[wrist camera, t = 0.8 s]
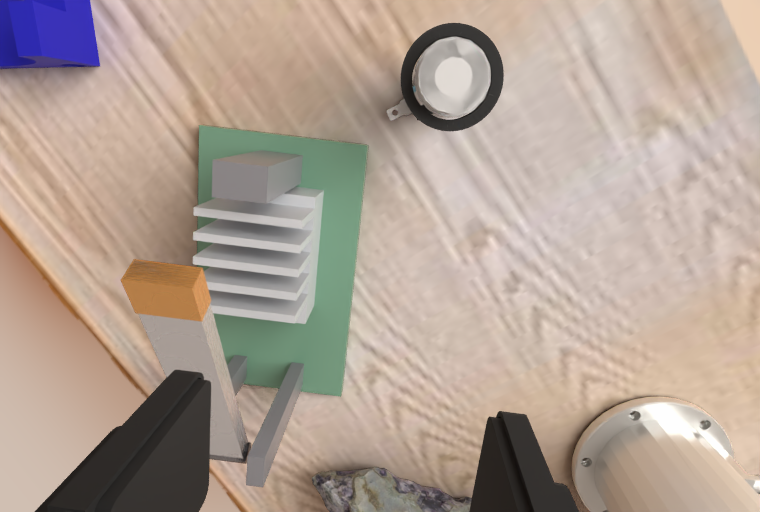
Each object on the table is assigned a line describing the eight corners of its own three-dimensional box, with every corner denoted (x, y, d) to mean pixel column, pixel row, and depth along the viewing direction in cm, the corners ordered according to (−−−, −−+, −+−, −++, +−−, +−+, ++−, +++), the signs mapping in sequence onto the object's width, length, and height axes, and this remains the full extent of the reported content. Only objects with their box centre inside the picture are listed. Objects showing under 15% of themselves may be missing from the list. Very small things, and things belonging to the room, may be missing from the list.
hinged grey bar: (204, 267, 19) (192, 290, 18) (251, 447, 31) (246, 466, 30) (133, 258, 19) (118, 281, 18) (207, 441, 31) (201, 460, 30)
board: (368, 144, 36) (349, 157, 24) (342, 390, 41) (316, 501, 29) (204, 125, 36) (103, 127, 24) (200, 371, 41) (115, 474, 29)
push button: (404, 149, 36) (403, 160, 26) (372, 79, 35) (359, 63, 25) (490, 107, 35) (523, 102, 25) (460, 33, 34) (482, -2, 24)
